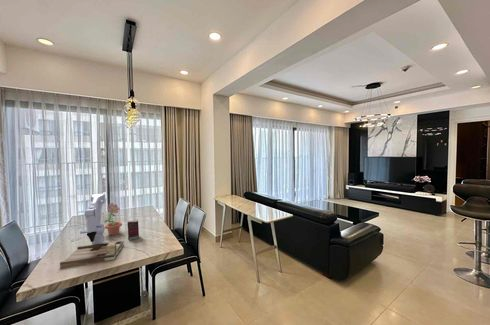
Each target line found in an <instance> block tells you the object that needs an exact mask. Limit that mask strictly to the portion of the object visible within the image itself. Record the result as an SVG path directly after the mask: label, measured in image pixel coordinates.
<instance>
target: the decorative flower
mask: <svg viewBox="0 0 490 325" xmlns="http://www.w3.org/2000/svg"><path fill="white" fill-rule="evenodd" d="M107 210H108V212H109V213H110V214H109V216H108V218H107V219H105V221H104V223H105V225H104V229H107V233H108V236H115V235H118V234H119V233H120V227H121V226H123V223H122V222H121V221H115V220H113V218H112V217H116V214H118V213H119V211H120V210H121V209H120V207H118V205H117V204H116V203H115V204H114V202H111V203H109V204H108V206H107ZM107 222H108V223H107ZM106 223H107V224H106Z"/></svg>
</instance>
